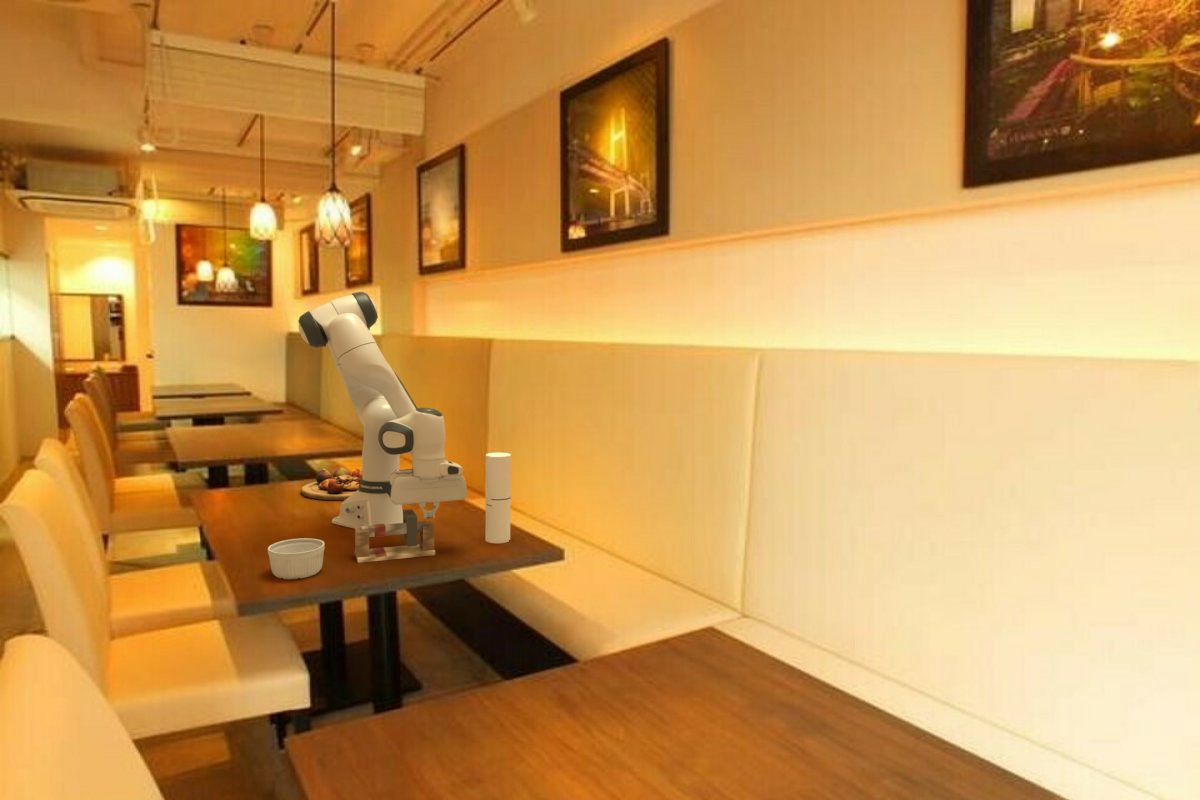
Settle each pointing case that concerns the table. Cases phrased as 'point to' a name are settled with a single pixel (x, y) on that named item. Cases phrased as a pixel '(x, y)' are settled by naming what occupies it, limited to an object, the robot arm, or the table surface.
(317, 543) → the ramekin
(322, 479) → the wooden plate with food
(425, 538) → the pipe rig
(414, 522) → the collar
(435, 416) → the robot arm
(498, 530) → the cylindrical container
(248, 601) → the table surface
